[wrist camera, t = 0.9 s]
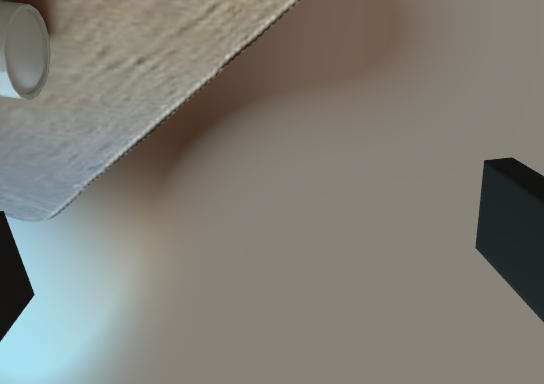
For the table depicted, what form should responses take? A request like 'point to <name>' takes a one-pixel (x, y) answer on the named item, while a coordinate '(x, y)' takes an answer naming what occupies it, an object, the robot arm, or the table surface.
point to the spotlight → (22, 51)
